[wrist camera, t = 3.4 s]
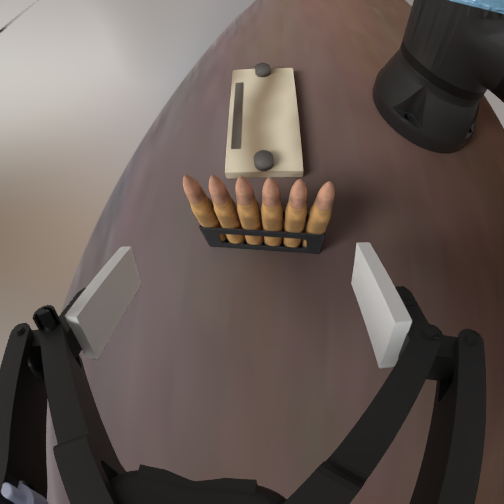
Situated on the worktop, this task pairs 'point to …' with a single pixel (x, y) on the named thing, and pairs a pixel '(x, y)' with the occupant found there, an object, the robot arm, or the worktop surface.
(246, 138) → the plate
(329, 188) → the ammunition clip
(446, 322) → the worktop surface
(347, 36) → the worktop surface
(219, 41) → the worktop surface
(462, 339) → the robot arm
